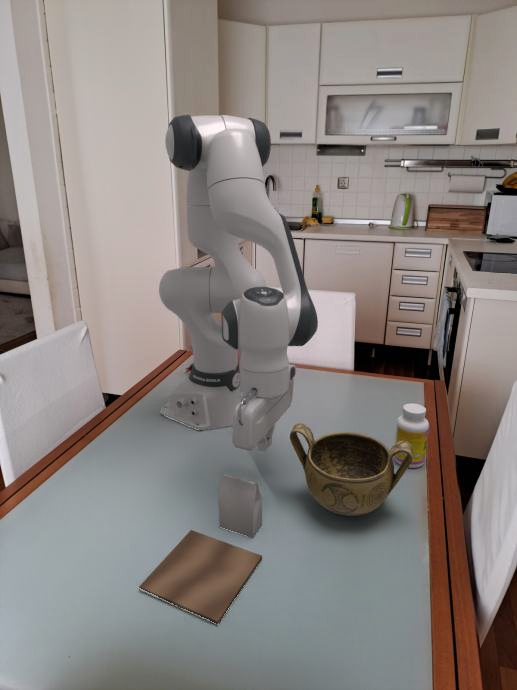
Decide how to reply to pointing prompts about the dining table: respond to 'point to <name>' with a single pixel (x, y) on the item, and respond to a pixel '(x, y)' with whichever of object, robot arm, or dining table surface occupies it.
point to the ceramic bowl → (349, 469)
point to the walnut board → (202, 575)
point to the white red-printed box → (240, 506)
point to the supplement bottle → (413, 433)
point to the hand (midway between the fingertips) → (264, 447)
